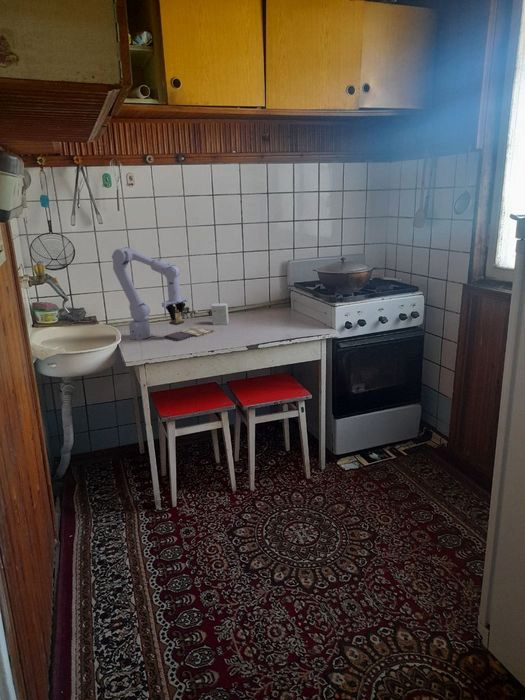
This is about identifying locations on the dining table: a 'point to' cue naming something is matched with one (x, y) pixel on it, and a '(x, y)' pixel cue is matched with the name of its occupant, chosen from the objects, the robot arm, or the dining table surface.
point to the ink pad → (178, 336)
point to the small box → (220, 313)
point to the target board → (196, 331)
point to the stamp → (177, 318)
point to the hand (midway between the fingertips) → (176, 318)
